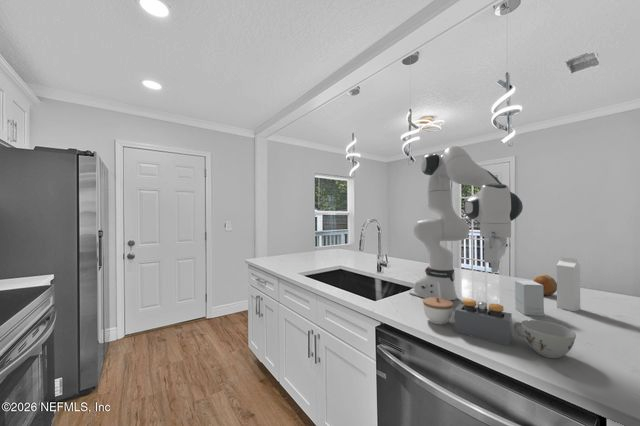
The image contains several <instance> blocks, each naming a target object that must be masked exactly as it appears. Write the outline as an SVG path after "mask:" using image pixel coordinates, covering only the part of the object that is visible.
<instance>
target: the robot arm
mask: <svg viewBox="0 0 640 426" xmlns="http://www.w3.org/2000/svg"><path fill="white" fill-rule="evenodd" d="M420 165H421V166H420V167H421V172H422V173H423V174H424V175H427V176H428V179H427V181H428V182H427V207H428V209H429V211H432V212H433V213H436V214H437V215H439V216H440V219H439V218H436V219H435V218H434V219H433V218H432V219H431V218H430V219H429V218H426V219H421V220H417V222H415V223H414V226H413V233H414V236H415V237H416V238H417V239H418V240H419V241H420V242H421V243H422V244H424V246H425V247H426V250H427V252H428V254H427V255H428V260H429V262H428V264H429V265H428V266H427V267H425V269H424V273H425V274H424V275H422V276H421V277H419V278H417V279H416V280H415V282H414V285H413V287H412V288H410V290H409V294H410V295H412V296H416V297H419V298H423V299H425V298H432V297H434V298H436V297H439V298H443V299H446V300H449V301H454V300H457V299H458V296H457V291H456V286H455V277H456V276H455V268H454V254H453V252H452V251H451V250H449V249H448V248H446V247H444V246H442V245H441V243H440V242H458V241H464V240H465V239H467V238H468V236H469V234H470V227H469V224H468V223H467V221H465V220H463V219H462V218H461V217H460V216H459V215H458V214H457V213H456V211H455V209H454V207H453V200H452V190H451V181H452V182H453V183H455V184H458V185H464V186H472V187H475V188H476V187H477V188H480V190H479V191H478V192H476V193H475V194H471V195H469V196H468V197H467V198H466V199H465V200H464V203H463V211H464V215H465V216H466V217H467V218H468V219H471V220H474V221H479V236H480V237H484V238H483V239H484V245H483V246H484V247H483V248H484V253H483V254H484V255H483V259H484V263H487V264H488V263H489V264H490V267H491V272H492V273H495V274H496V273H498V272H499V271H500V262H501V259H502V258H503V256H504V255H505V254H506V249H507V241H508V240H507V239H508V238H512V221H515V220H516V219H517V218H518V217H519V216H520V215H521V213H522V212H523V202H522V200H521V199H520V198H519V197H518V195H517V194H515V193H514V192H513V191H510V188H509V186H508V185H506V184H504V183H502V182H501V181H500V180H499V179H498V178H497V177H496V176H495V175H494V174H493V173H491V172H490V171H489V170H488V169H485V168H483V167H482V166H481V165H480V164H477V163H476V162H475V161H474V160H473V159H472V157H471V156H470V155H469V153H468V152H467V151H466V150H465V149H464V148H462V147H461V146H457V145H454V146H453V145H452V146H450V147H448V148H447V149H445V150H444V152H443V153H429V154H426V155H425V156H424V157H423V158H422V161H421V164H420Z"/></svg>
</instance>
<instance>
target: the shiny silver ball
mask: <svg viewBox="0 0 640 426" xmlns="http://www.w3.org/2000/svg"><path fill="white" fill-rule="evenodd" d="M477 307H478V312H481V313H487V309H488V303H487V302H484V301H477Z"/></svg>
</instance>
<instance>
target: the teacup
mask: <svg viewBox="0 0 640 426" xmlns="http://www.w3.org/2000/svg"><path fill="white" fill-rule="evenodd" d="M518 327H521V331H522V333H520V332H519V330H518V329H517V328H518ZM513 328H514V329H513V330H514V332H515V333H516V334H517V336H519V337H521V338H523V339H525V340H526V342H527V344H528V345H529V346H530V347H531V348H532V349H533V350H534V351H535V353H537V354H538V355H540V356H543V357H545V358H549V359H559V358H561V357H562V356H564V355H567V353H569V352H570V351H571V350H572V349H573V347H574V344H575V340H576V337H577V334H576V332H574V331H573V330H572V329H570V328H568V327H566V326H564V325H562V324H558V323H555V322H550V321H546V320H540V319H539V320H538V319H530V320H522V321H521V322H518V321H516V322H514V324H513Z"/></svg>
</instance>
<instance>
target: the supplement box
mask: <svg viewBox="0 0 640 426" xmlns="http://www.w3.org/2000/svg"><path fill="white" fill-rule="evenodd" d="M514 290H515V292H514V295H515V296H514V300H515V301H514V303H515V304H514V305H515V310H517V311H518V312H520V313H521V314H523V315H524V316H539V317H540V316H541V317H543V316H545V311H544V309H545V308H544V307H545V306H544V300H545V299H544V297H545V295H543V285H541V284H539V283H537V282H534V281H533V280H514Z"/></svg>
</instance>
